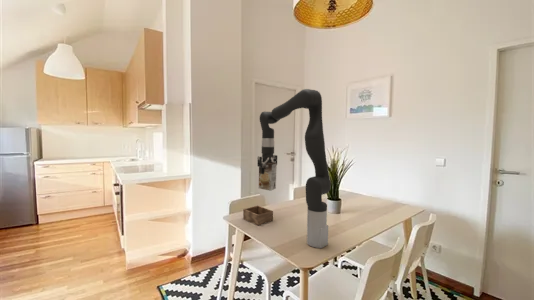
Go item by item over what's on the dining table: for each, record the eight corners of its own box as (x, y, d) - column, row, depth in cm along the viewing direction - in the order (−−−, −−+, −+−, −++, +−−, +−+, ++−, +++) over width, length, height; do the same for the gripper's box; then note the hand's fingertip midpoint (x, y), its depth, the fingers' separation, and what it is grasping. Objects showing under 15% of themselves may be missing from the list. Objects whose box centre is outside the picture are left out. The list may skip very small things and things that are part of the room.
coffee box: (257, 188, 146) (258, 162, 144) (263, 186, 151) (264, 160, 149) (271, 191, 141) (271, 163, 139) (276, 188, 146) (277, 162, 145)
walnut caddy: (273, 220, 148) (273, 211, 147) (258, 225, 140) (258, 215, 140) (257, 214, 159) (257, 205, 158) (243, 218, 151) (243, 209, 150)
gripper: (262, 146, 136) (262, 175, 137) (281, 145, 145) (280, 172, 147) (254, 145, 141) (254, 173, 143) (272, 144, 151) (271, 170, 153)
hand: (267, 173), depth 145 cm, fingers closed on coffee box, 7 cm apart
